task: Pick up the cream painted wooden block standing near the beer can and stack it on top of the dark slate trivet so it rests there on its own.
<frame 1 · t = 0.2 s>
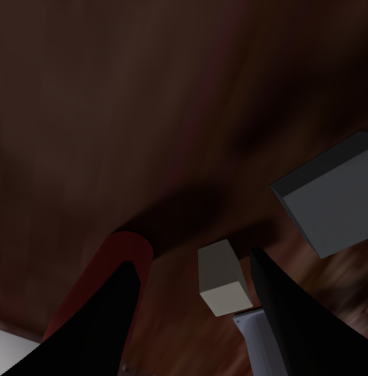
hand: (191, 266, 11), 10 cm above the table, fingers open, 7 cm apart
slate trivet: (328, 192, 19), on the table
beer can: (130, 247, 23), on the table
cream block: (218, 255, 23), on the table
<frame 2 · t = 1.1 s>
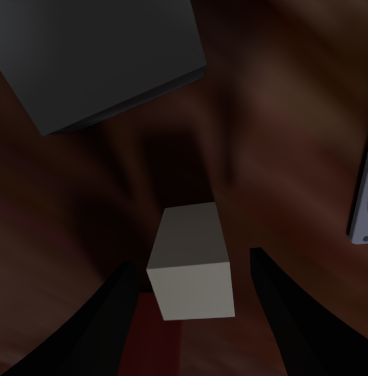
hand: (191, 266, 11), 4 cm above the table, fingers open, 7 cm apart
slate trivet: (100, 21, 10), on the table
beer can: (153, 306, 19), on the table
cream block: (193, 225, 15), on the table
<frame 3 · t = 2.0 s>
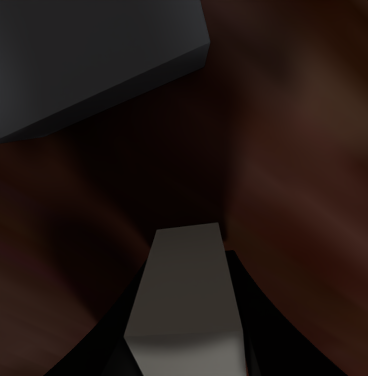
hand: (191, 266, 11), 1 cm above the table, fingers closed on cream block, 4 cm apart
cream block: (191, 250, 12), on the table, touching gripper
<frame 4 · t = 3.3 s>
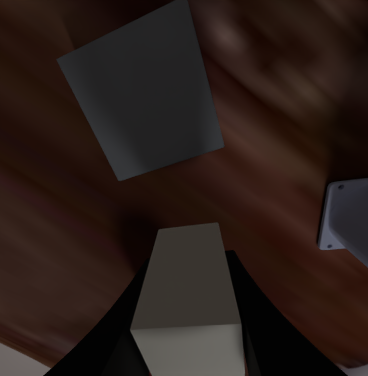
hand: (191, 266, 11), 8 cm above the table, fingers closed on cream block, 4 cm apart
slate trivet: (154, 107, 15), on the table
cream block: (192, 249, 12), point 7 cm above the table, touching gripper
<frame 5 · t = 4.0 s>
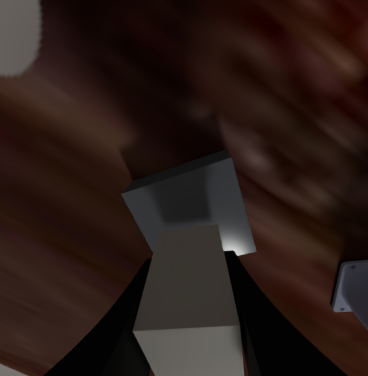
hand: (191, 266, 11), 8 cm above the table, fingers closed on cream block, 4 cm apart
slate trivet: (192, 206, 18), on the table
cream block: (192, 249, 13), point 6 cm above the table, touching gripper
when the fingers open (6 cm above the table, at t = 4.7 s): cream block stays where it is, resting on slate trivet.
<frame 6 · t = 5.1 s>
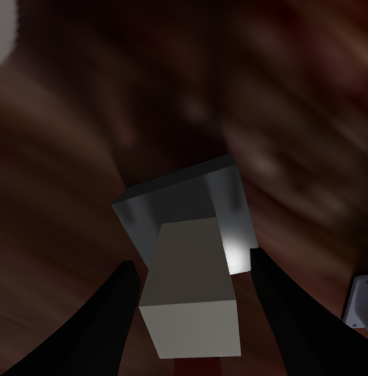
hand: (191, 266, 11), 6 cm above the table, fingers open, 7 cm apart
slate trivet: (192, 216, 16), on the table
beer can: (197, 357, 26), on the table
cream block: (193, 242, 13), point 3 cm above the table, touching slate trivet
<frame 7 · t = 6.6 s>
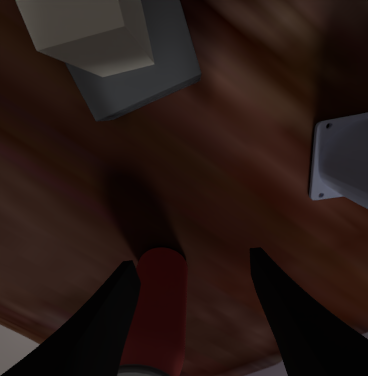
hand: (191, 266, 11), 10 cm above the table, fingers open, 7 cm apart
slate trivet: (131, 45, 15), on the table
beer can: (163, 262, 24), on the table
cream block: (119, 37, 12), point 3 cm above the table, touching slate trivet
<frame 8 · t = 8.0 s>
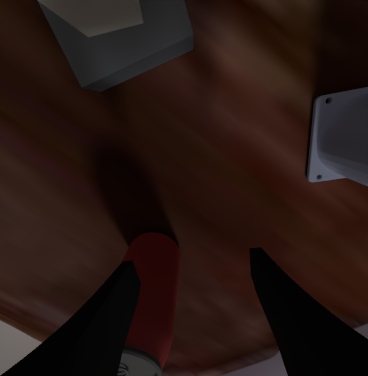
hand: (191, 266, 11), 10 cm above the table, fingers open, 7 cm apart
slate trivet: (120, 8, 14), on the table
beer can: (155, 248, 23), on the table
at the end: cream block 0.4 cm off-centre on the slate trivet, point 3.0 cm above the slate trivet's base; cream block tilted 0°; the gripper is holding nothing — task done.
